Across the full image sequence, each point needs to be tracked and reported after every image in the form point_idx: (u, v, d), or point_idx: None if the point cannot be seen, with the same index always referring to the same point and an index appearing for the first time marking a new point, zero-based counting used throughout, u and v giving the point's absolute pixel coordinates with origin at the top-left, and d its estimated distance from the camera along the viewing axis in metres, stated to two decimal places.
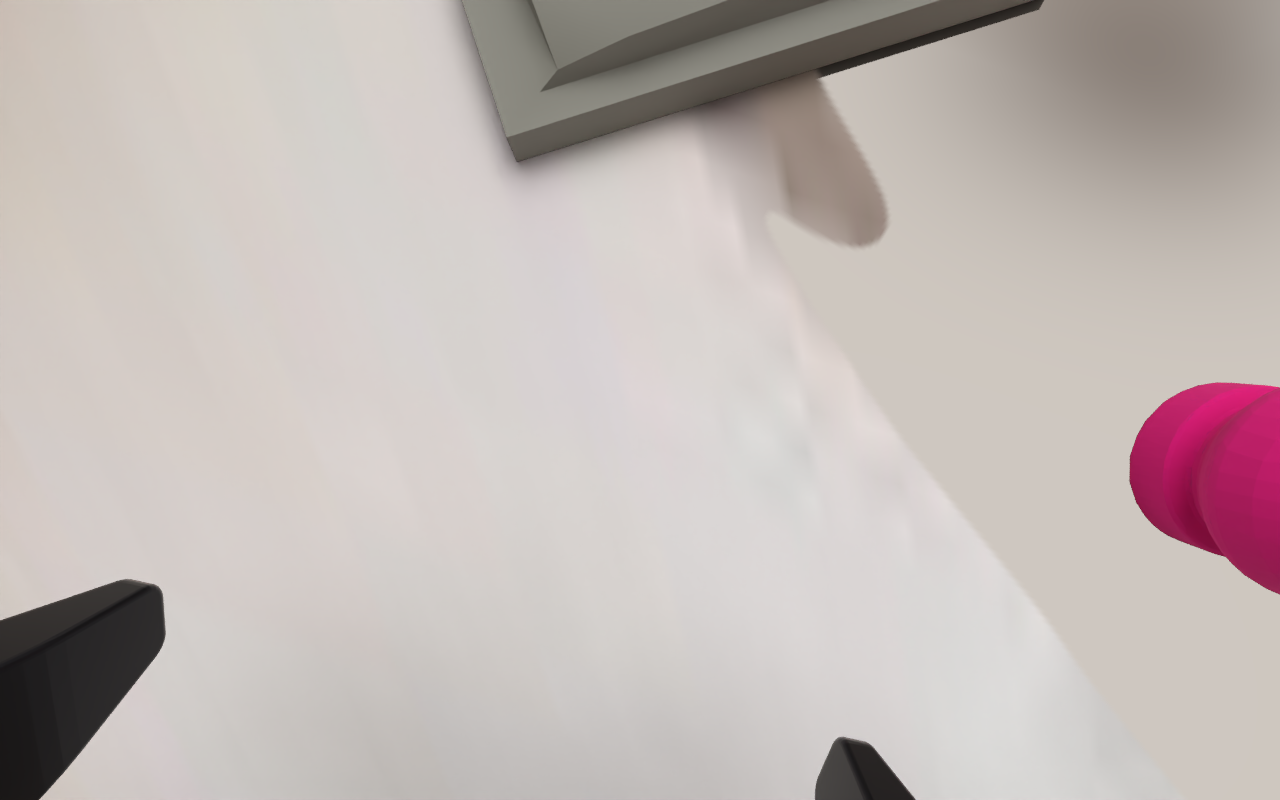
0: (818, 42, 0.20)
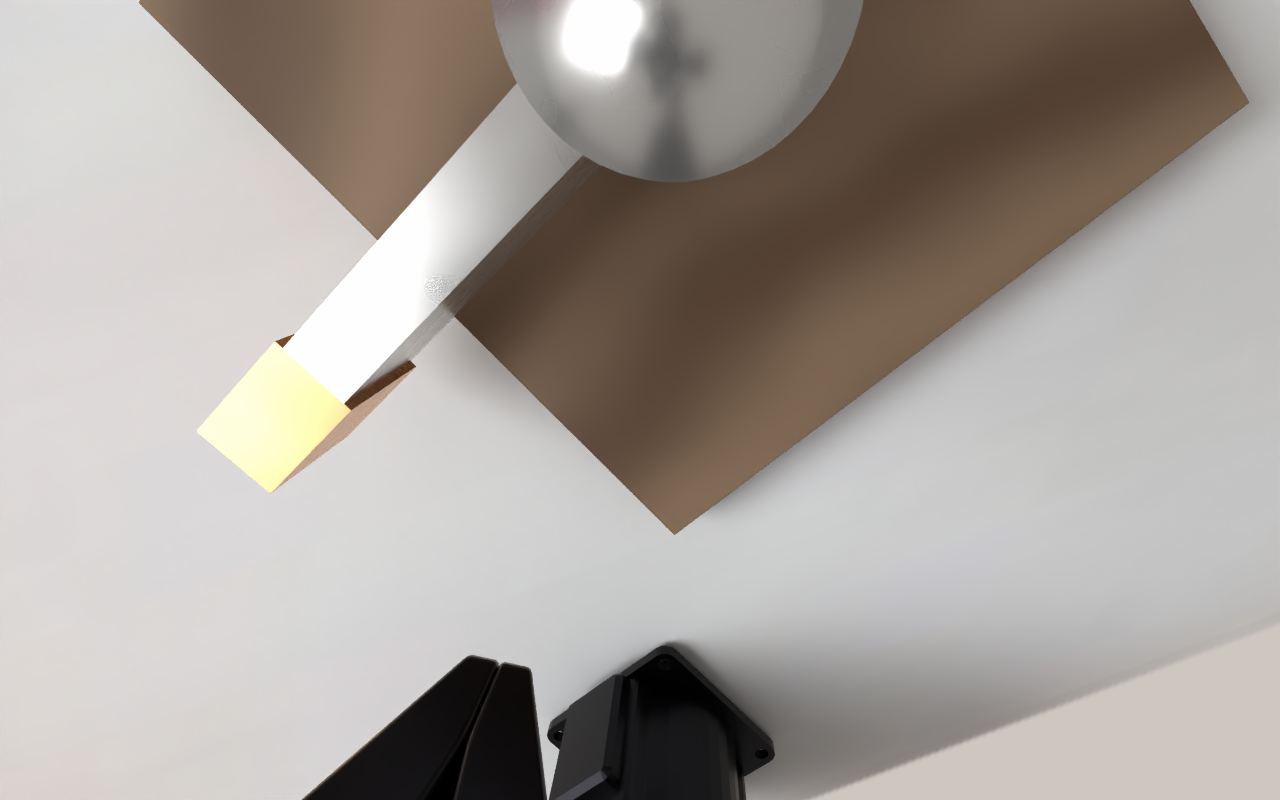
0: None
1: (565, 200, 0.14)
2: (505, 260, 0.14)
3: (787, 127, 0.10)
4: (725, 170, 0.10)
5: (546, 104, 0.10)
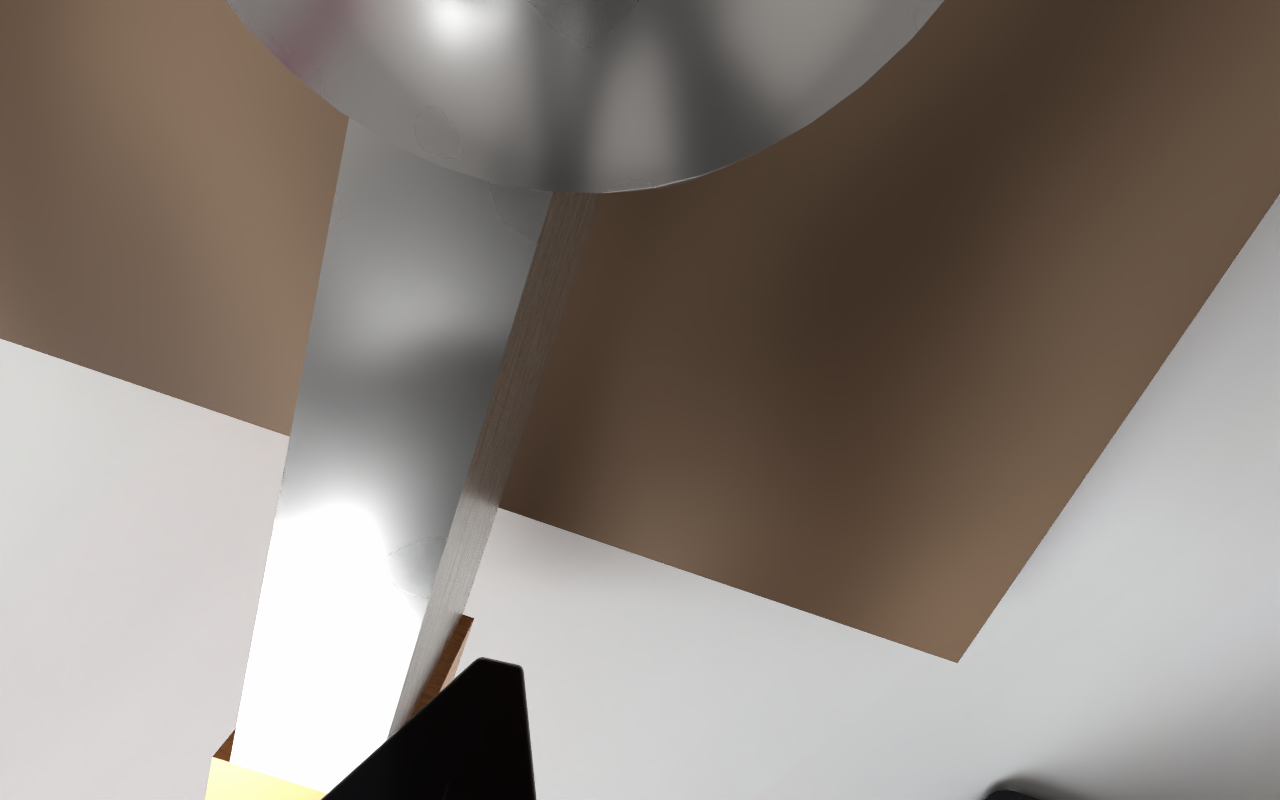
0: None
1: (569, 284, 0.08)
2: (522, 422, 0.08)
3: None
4: (894, 49, 0.04)
5: (424, 125, 0.04)
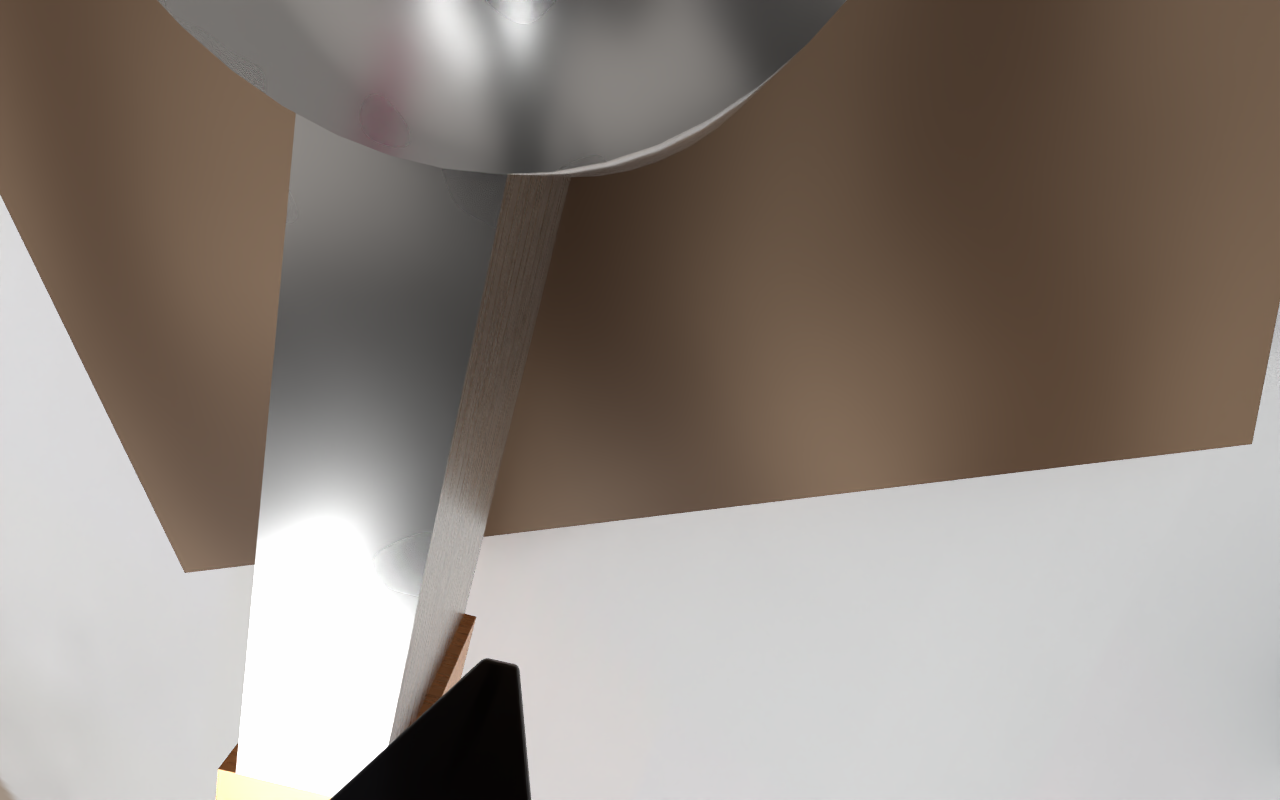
0: None
1: (543, 274, 0.08)
2: (507, 416, 0.08)
3: None
4: (838, 3, 0.04)
5: (370, 115, 0.04)
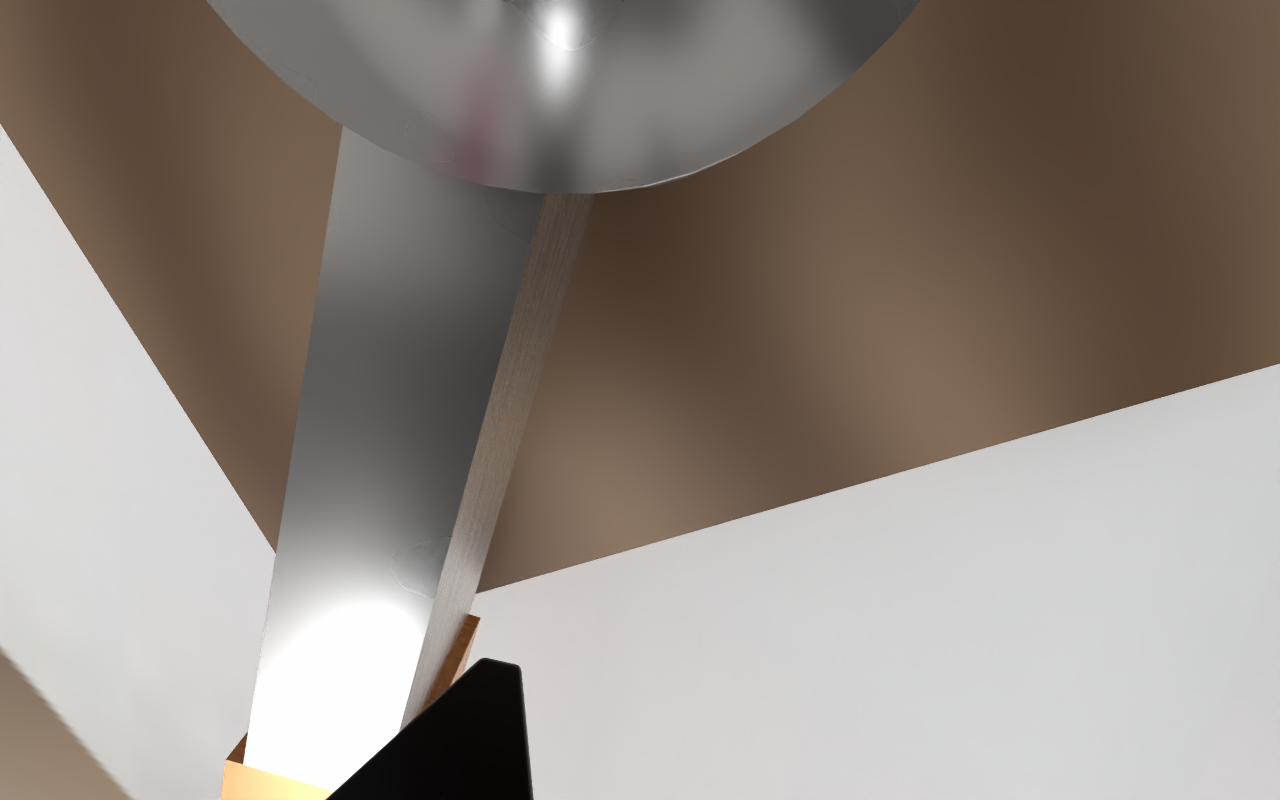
0: None
1: (565, 284, 0.08)
2: (522, 422, 0.08)
3: None
4: (877, 43, 0.04)
5: (416, 131, 0.04)
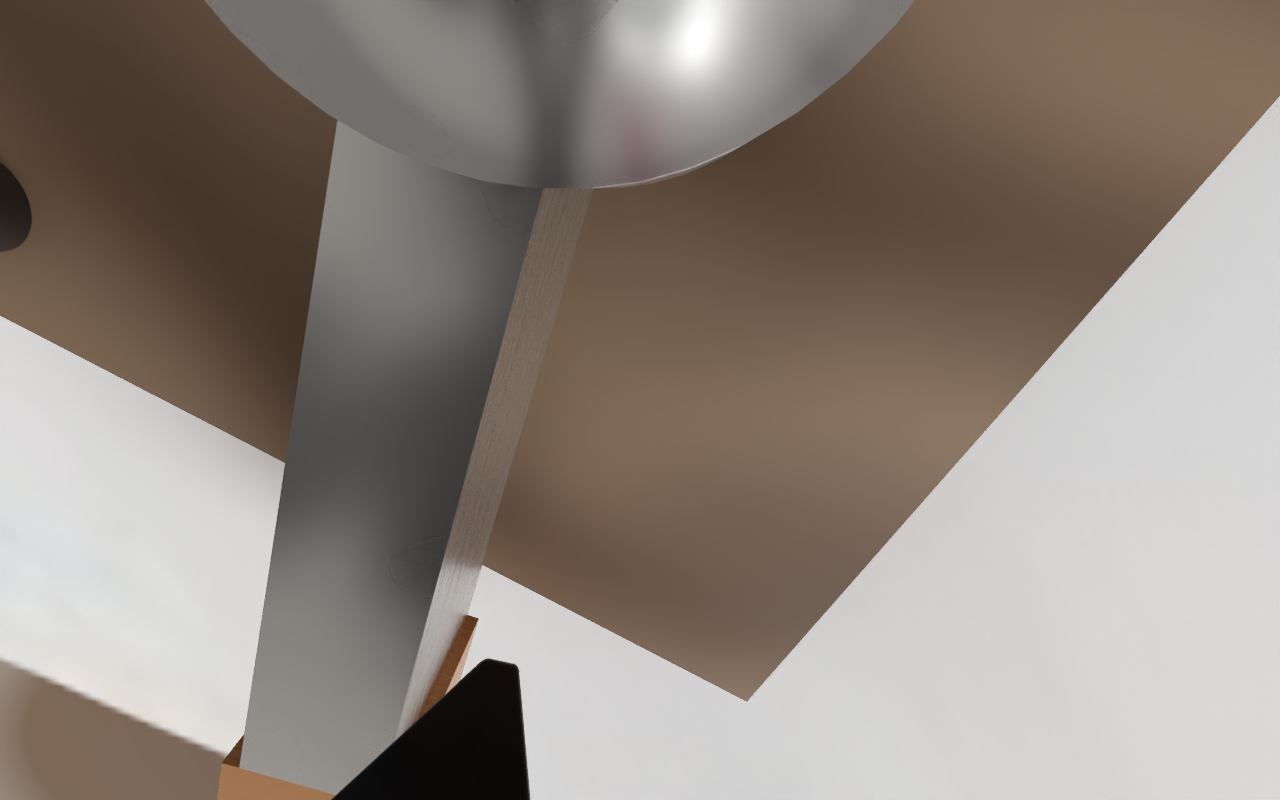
0: None
1: (563, 282, 0.08)
2: (520, 421, 0.08)
3: None
4: (878, 36, 0.04)
5: (412, 125, 0.04)
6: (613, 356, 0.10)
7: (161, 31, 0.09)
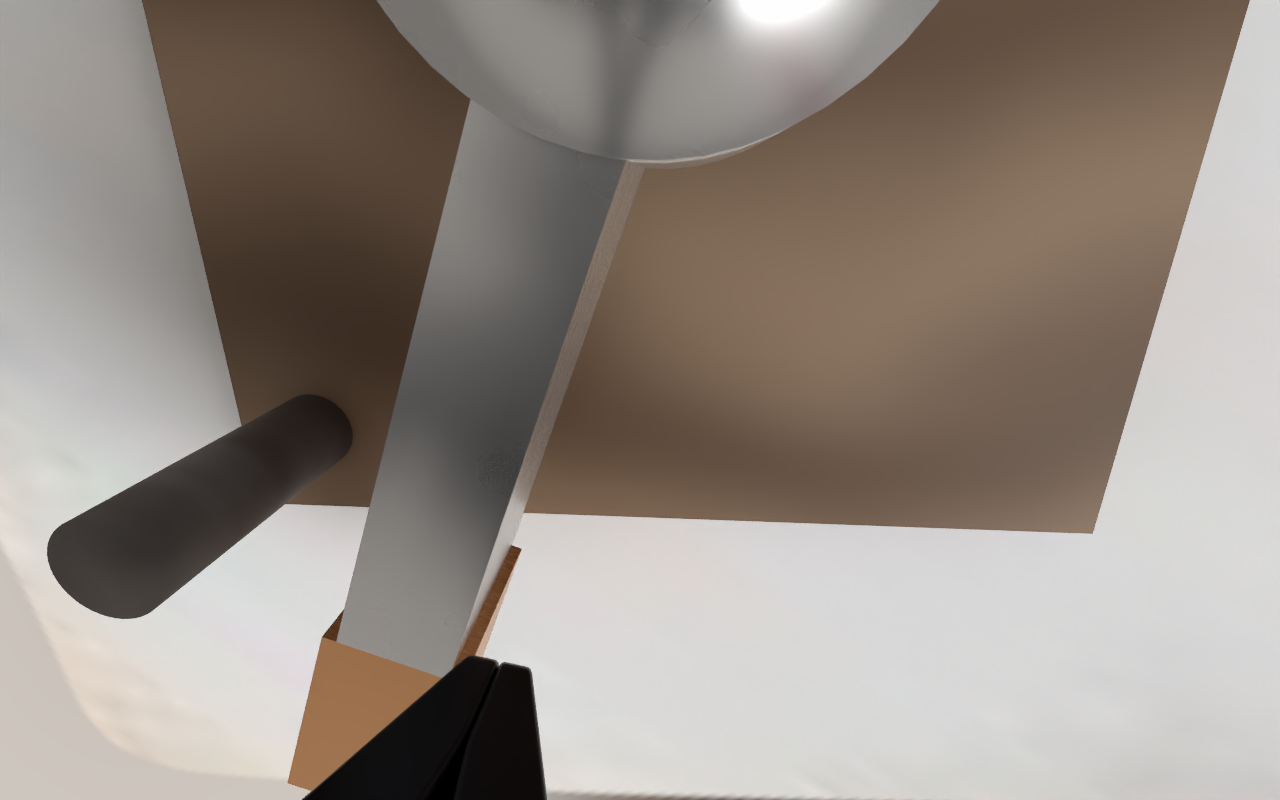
0: None
1: (614, 249, 0.09)
2: (572, 369, 0.10)
3: None
4: (890, 50, 0.05)
5: (531, 107, 0.06)
6: (815, 286, 0.11)
7: (378, 238, 0.11)
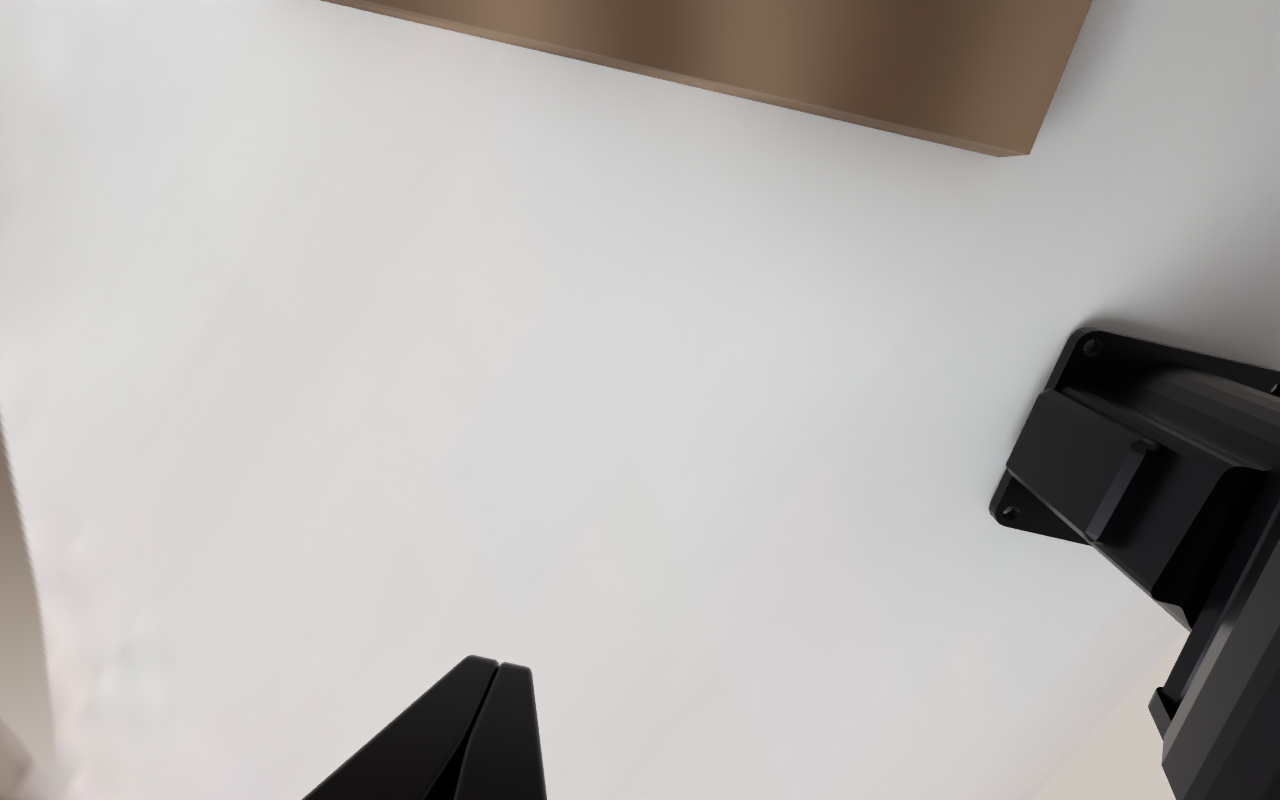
0: None
1: None
2: None
3: None
4: None
5: None
6: None
7: None
